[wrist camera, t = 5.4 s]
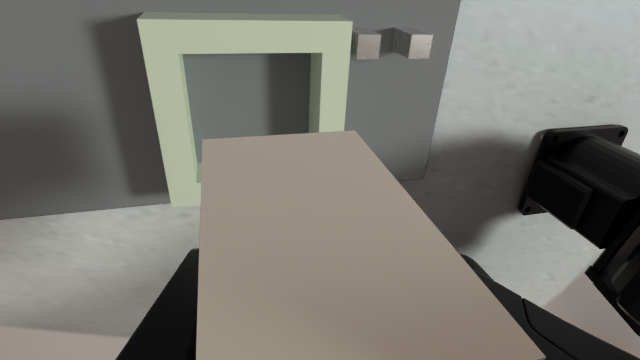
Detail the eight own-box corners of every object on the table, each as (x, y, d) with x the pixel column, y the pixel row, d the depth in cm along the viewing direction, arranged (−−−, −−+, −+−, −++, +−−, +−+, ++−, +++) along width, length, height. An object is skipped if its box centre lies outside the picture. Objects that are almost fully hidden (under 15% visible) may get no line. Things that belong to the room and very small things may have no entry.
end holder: (338, 14, 17) (352, 21, 15) (328, 172, 21) (339, 191, 19) (144, 12, 15) (136, 19, 13) (174, 185, 19) (171, 207, 17)
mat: (488, -204, 15) (505, -214, 14) (416, 170, 24) (423, 178, 23) (-240, -332, 10) (-281, -358, 9) (5, 208, 18) (-5, 220, 18)
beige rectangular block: (355, 130, 10) (546, 357, 4) (343, 244, 12) (466, 504, 6) (202, 139, 9) (193, 440, 4) (217, 261, 11) (226, 583, 6)
